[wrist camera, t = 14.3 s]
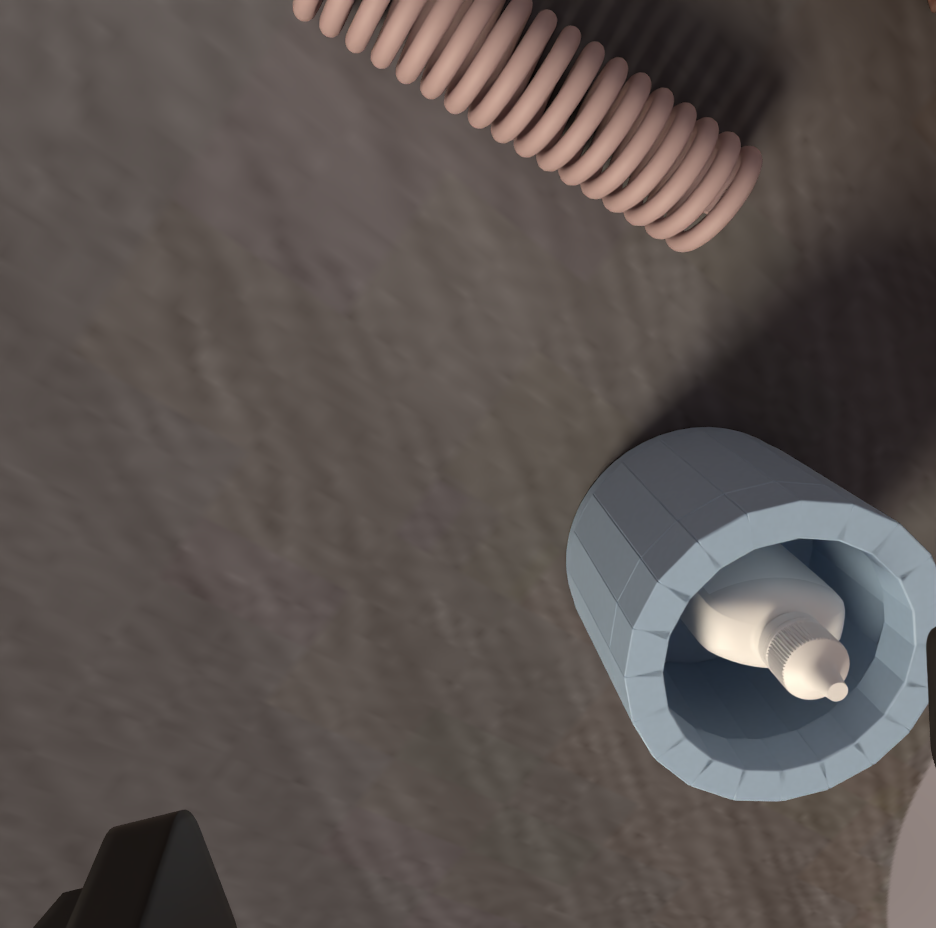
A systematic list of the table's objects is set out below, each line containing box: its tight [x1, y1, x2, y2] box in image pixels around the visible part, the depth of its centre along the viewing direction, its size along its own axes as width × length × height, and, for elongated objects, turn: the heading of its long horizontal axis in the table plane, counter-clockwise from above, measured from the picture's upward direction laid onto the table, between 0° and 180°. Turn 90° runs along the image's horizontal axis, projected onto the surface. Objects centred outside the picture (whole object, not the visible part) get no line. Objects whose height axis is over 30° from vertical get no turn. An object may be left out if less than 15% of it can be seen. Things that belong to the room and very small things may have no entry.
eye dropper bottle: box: [680, 543, 850, 702], centre depth 33 cm, size 4×6×12 cm
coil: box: [293, 0, 763, 252], centre depth 31 cm, size 5×5×18 cm
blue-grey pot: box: [566, 427, 936, 801], centre depth 35 cm, size 12×12×10 cm
